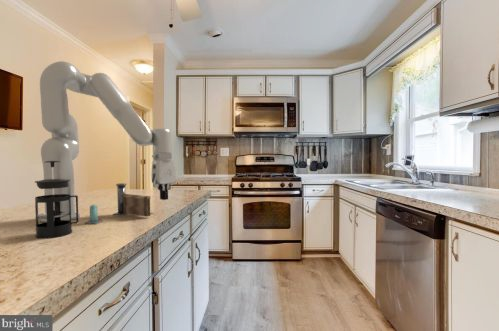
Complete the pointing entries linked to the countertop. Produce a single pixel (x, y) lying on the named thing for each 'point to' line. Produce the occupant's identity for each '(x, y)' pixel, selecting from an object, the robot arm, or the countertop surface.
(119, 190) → the gate post
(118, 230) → the countertop surface
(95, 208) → the latch post
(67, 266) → the countertop surface
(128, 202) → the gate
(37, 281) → the countertop surface
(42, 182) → the french press
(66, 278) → the countertop surface
